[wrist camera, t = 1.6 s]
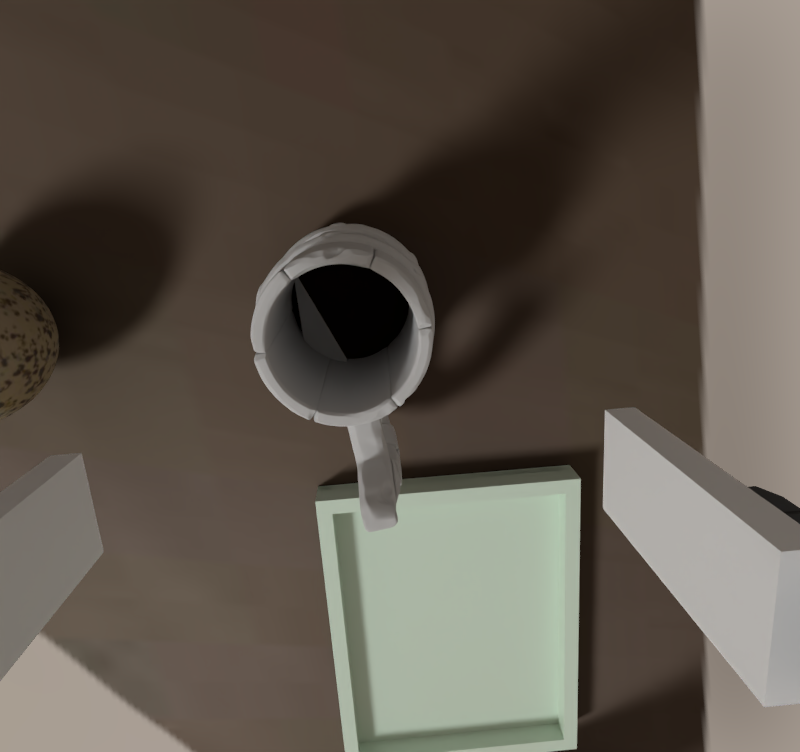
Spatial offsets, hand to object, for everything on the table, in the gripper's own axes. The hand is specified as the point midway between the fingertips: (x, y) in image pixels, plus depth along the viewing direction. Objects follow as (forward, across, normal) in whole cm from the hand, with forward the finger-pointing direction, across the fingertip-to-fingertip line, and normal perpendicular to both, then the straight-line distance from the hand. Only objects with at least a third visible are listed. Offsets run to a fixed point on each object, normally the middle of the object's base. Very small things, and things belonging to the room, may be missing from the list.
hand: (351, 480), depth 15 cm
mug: (+16, 0, 0) cm, 16 cm away
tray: (+16, +4, -17) cm, 24 cm away
